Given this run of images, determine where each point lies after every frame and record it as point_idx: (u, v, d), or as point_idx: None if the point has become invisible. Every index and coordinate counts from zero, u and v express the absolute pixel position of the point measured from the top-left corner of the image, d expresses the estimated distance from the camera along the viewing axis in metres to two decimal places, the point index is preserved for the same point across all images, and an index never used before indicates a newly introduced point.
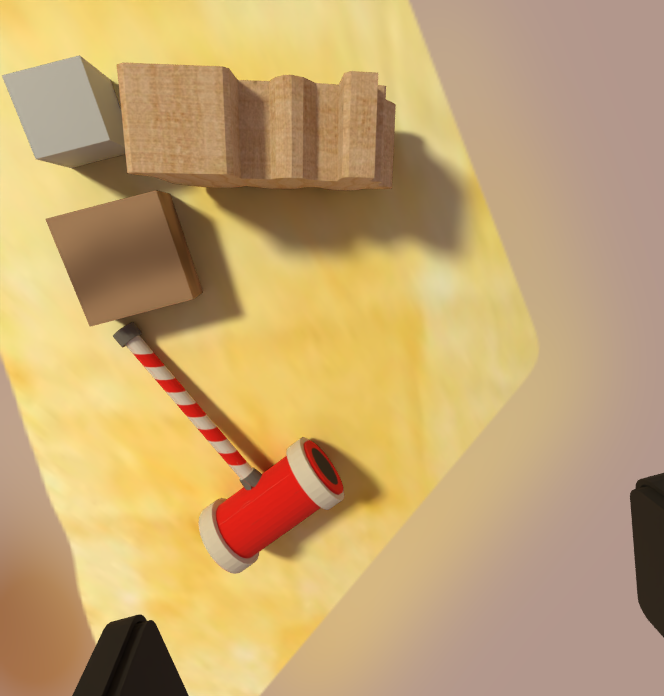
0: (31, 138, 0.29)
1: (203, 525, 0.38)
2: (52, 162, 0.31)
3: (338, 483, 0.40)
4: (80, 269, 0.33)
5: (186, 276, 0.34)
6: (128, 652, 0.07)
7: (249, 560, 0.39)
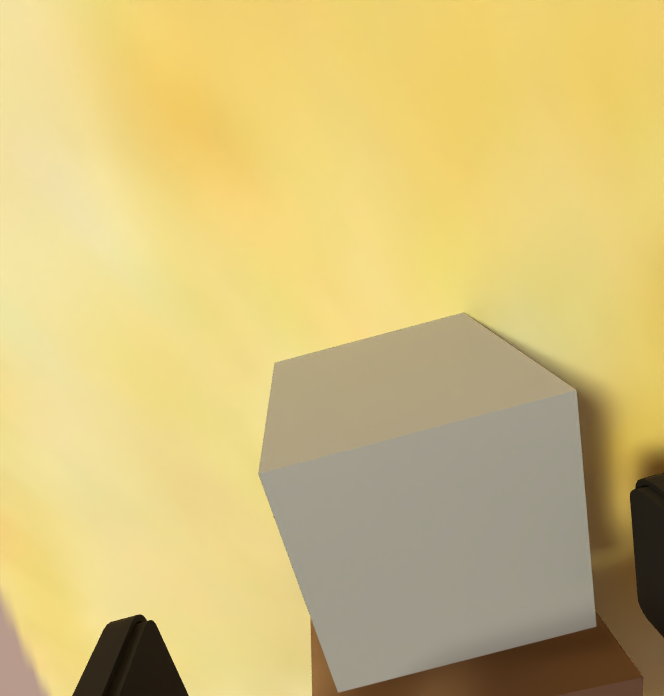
0: (334, 644, 0.08)
1: None
2: None
3: None
4: None
5: None
6: (128, 652, 0.07)
7: None
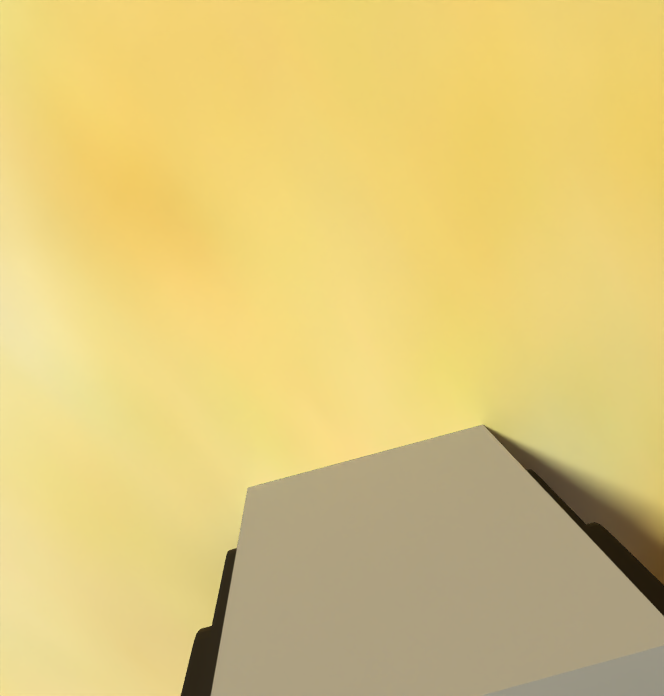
0: None
1: None
2: None
3: None
4: None
5: None
6: None
7: None
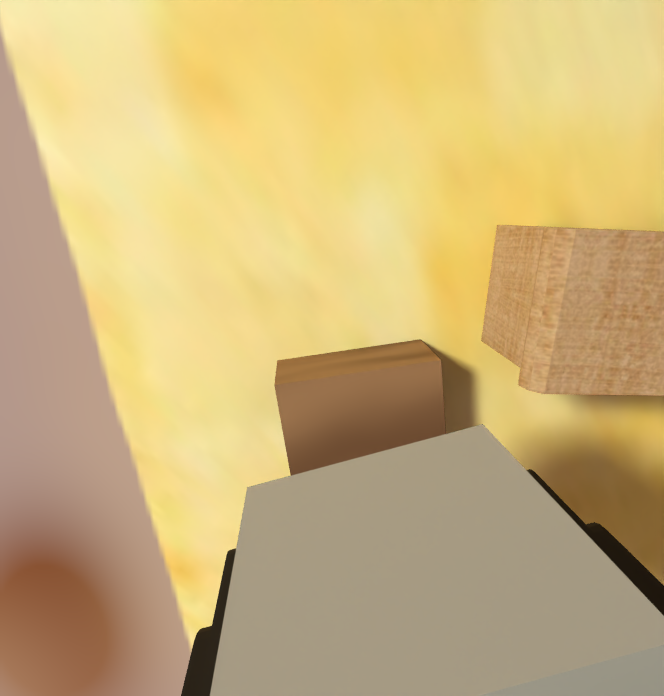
0: None
1: None
2: None
3: None
4: (306, 454, 0.22)
5: None
6: None
7: None
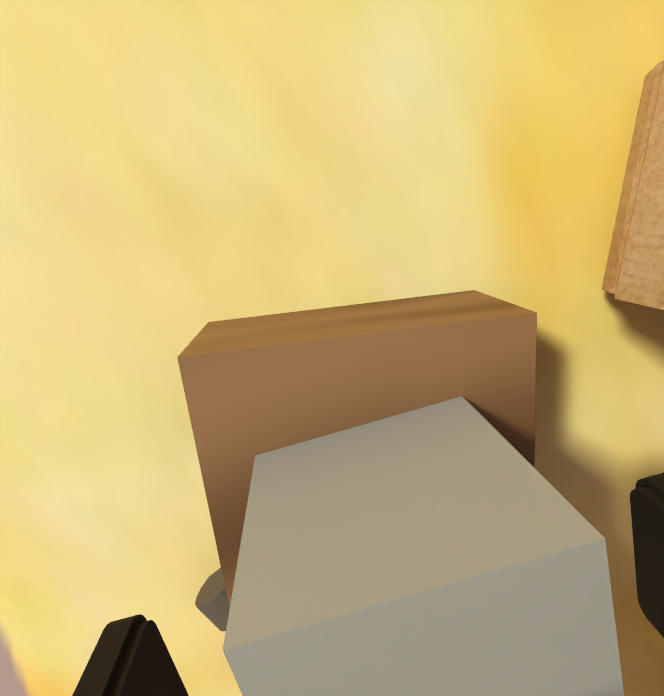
0: None
1: None
2: None
3: None
4: None
5: None
6: (128, 652, 0.07)
7: None
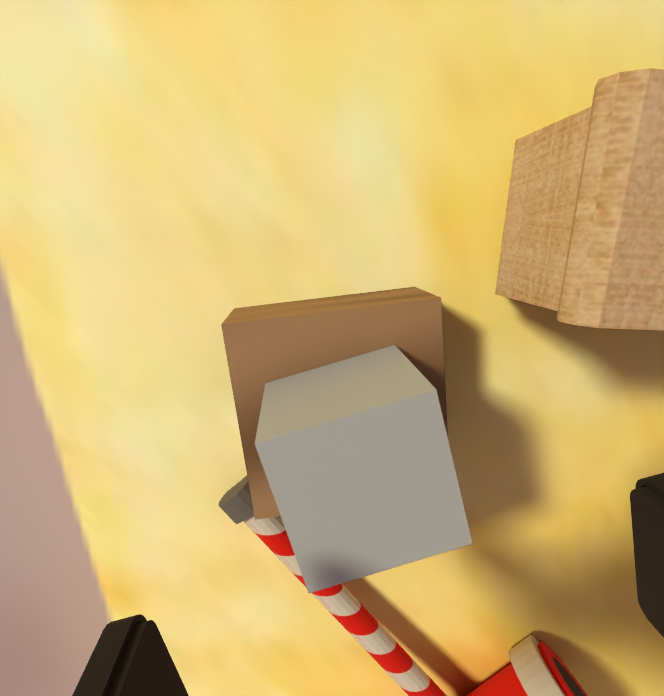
0: (304, 557, 0.13)
1: None
2: None
3: None
4: None
5: None
6: (128, 652, 0.07)
7: None
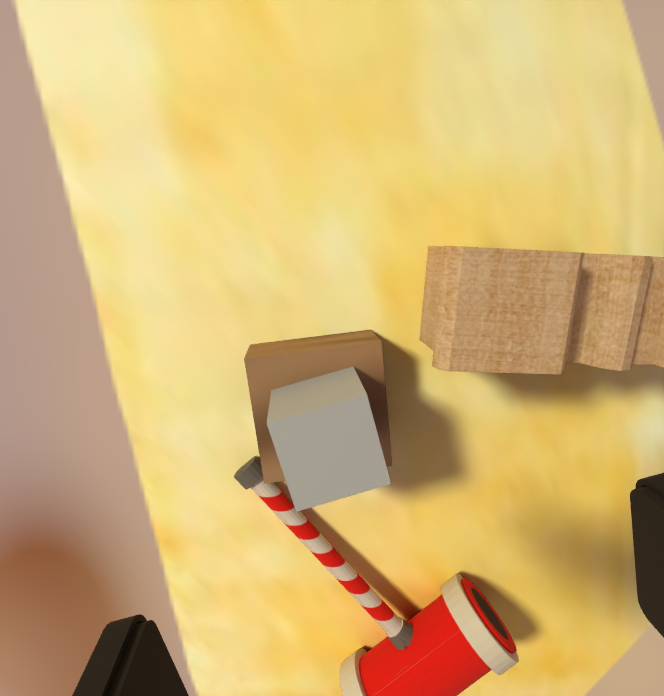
0: (294, 489, 0.22)
1: None
2: None
3: (506, 632, 0.33)
4: None
5: (389, 438, 0.28)
6: (128, 652, 0.07)
7: None
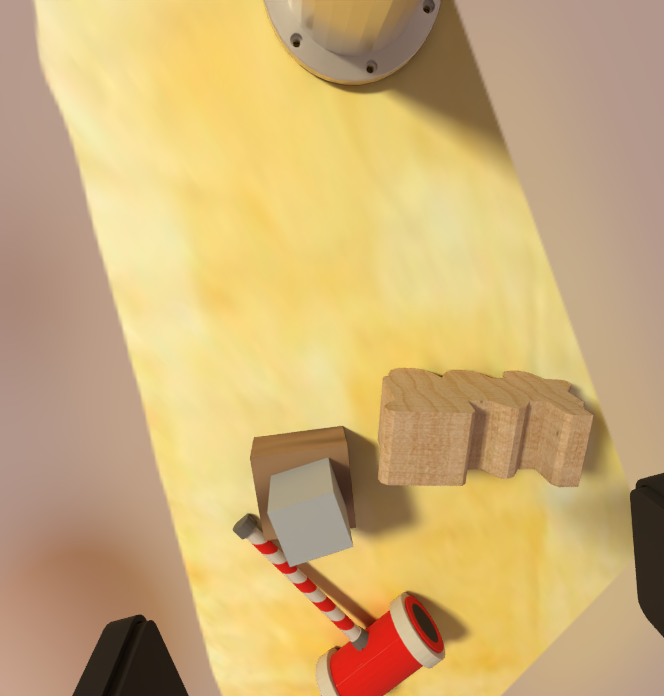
0: (287, 553, 0.34)
1: (322, 686, 0.43)
2: None
3: (438, 637, 0.44)
4: (268, 497, 0.38)
5: (353, 508, 0.39)
6: (128, 652, 0.07)
7: None
